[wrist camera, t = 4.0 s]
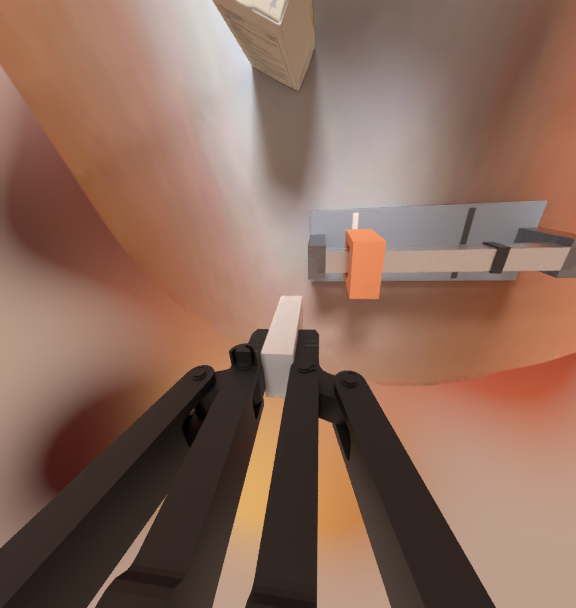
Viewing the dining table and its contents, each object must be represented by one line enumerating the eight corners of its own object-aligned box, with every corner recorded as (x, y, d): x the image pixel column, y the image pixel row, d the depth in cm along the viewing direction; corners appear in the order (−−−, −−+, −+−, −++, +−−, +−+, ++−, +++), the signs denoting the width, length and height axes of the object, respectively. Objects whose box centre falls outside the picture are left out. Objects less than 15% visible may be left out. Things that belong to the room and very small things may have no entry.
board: (311, 279, 37) (310, 281, 36) (310, 211, 32) (310, 211, 31) (510, 277, 33) (516, 280, 32) (540, 200, 28) (548, 200, 27)
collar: (343, 275, 31) (349, 298, 25) (345, 229, 29) (353, 242, 22) (366, 275, 31) (378, 299, 24) (370, 228, 28) (386, 241, 22)
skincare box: (316, 45, 25) (314, -66, 14) (298, 93, 27) (284, 29, 16) (262, 12, 24) (214, -130, 13) (247, 64, 26) (196, -23, 15)
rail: (310, 262, 34) (308, 280, 28) (310, 234, 33) (307, 246, 26) (524, 258, 31) (580, 278, 24) (537, 227, 29) (601, 238, 22)
